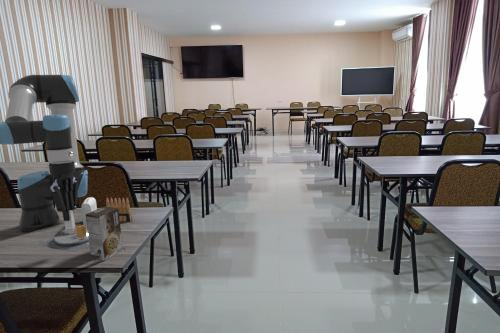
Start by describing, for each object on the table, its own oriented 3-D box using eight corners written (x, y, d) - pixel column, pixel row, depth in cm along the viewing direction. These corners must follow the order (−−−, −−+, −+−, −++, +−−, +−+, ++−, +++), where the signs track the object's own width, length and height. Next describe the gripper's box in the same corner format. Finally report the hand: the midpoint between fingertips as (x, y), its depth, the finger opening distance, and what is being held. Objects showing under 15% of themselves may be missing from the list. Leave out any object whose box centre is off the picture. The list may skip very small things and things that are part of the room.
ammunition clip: (132, 223, 150) (130, 196, 147) (130, 224, 148) (128, 198, 146) (109, 223, 151) (106, 196, 148) (107, 224, 149) (104, 198, 146)
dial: (48, 239, 129) (45, 224, 128) (84, 228, 140) (82, 214, 139) (66, 249, 121) (64, 233, 120) (103, 235, 132) (101, 221, 131)
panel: (39, 248, 127) (38, 243, 126) (77, 231, 142) (76, 227, 142) (75, 255, 120) (74, 250, 120) (111, 236, 135) (110, 232, 135)
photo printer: (89, 222, 152) (86, 195, 150) (99, 221, 153) (96, 194, 150) (82, 230, 142) (79, 202, 140) (93, 230, 143) (90, 201, 140)
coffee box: (109, 247, 126) (105, 205, 122) (123, 250, 123) (119, 207, 120) (90, 258, 117) (84, 213, 114) (104, 261, 115) (99, 216, 112)
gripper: (59, 165, 107) (68, 236, 112) (83, 158, 120) (91, 222, 124) (36, 165, 108) (47, 235, 112) (63, 158, 121) (72, 221, 125)
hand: (70, 228), depth 118 cm, fingers closed
